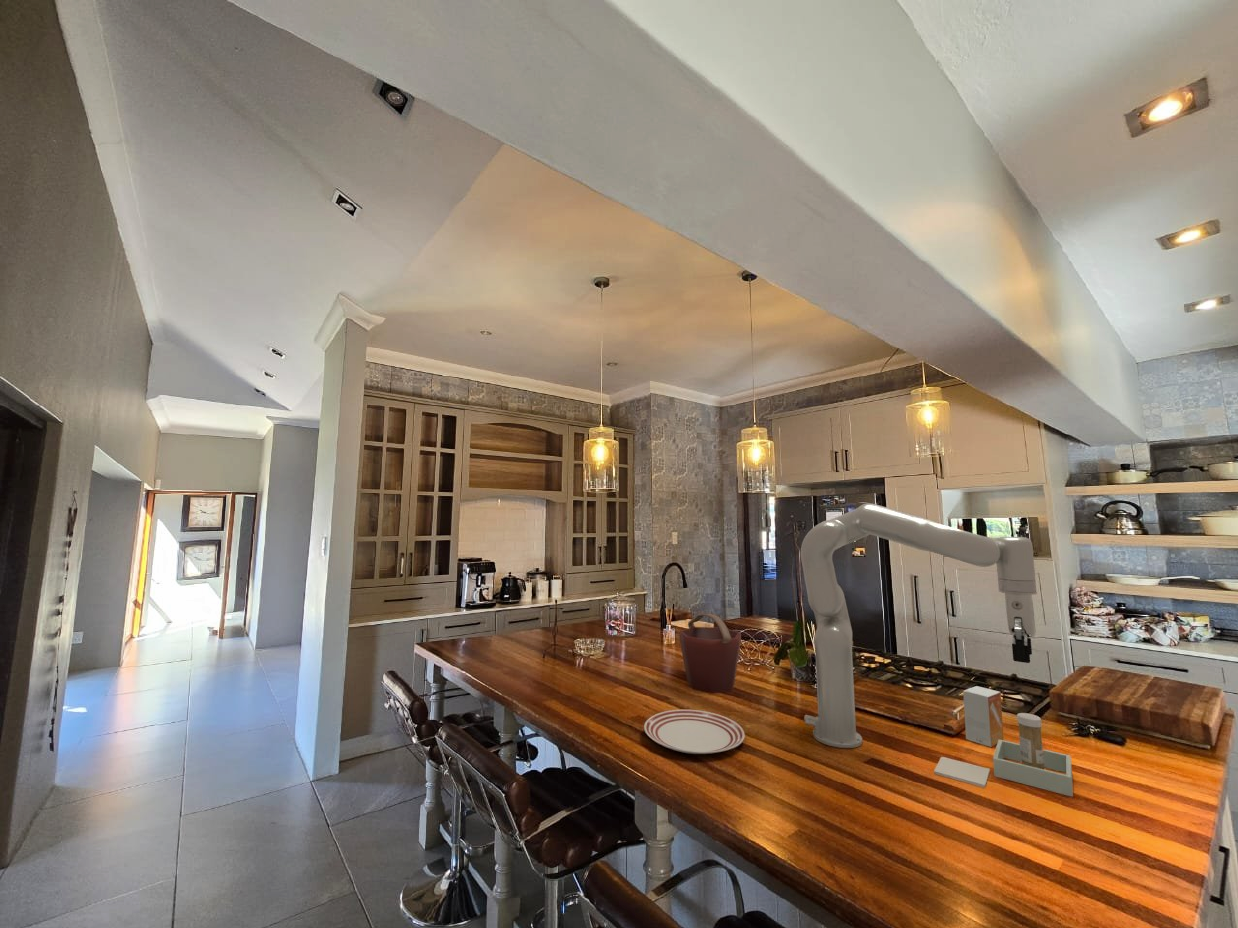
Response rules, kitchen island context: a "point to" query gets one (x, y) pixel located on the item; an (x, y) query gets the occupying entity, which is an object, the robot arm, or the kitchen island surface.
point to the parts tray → (1034, 769)
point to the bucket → (710, 655)
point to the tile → (962, 771)
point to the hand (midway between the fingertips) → (1022, 657)
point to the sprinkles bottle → (1030, 740)
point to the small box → (983, 715)
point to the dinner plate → (694, 731)
